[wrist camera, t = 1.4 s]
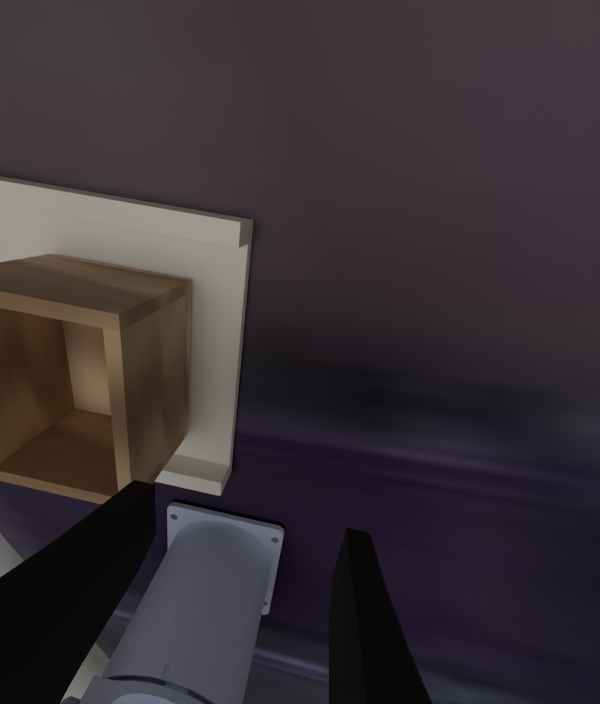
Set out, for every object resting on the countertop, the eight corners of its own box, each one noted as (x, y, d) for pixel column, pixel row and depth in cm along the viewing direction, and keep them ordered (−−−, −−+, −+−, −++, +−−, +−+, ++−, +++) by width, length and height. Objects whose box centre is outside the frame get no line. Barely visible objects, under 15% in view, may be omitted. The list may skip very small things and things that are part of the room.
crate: (188, 433, 20) (133, 511, 15) (74, 408, 20) (-17, 476, 15) (190, 279, 16) (119, 314, 11) (51, 253, 16) (-80, 275, 12)
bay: (231, 471, 22) (220, 496, 20) (-60, 407, 23) (-95, 425, 21) (253, 219, 15) (240, 222, 14) (-147, 150, 17) (-208, 144, 15)
